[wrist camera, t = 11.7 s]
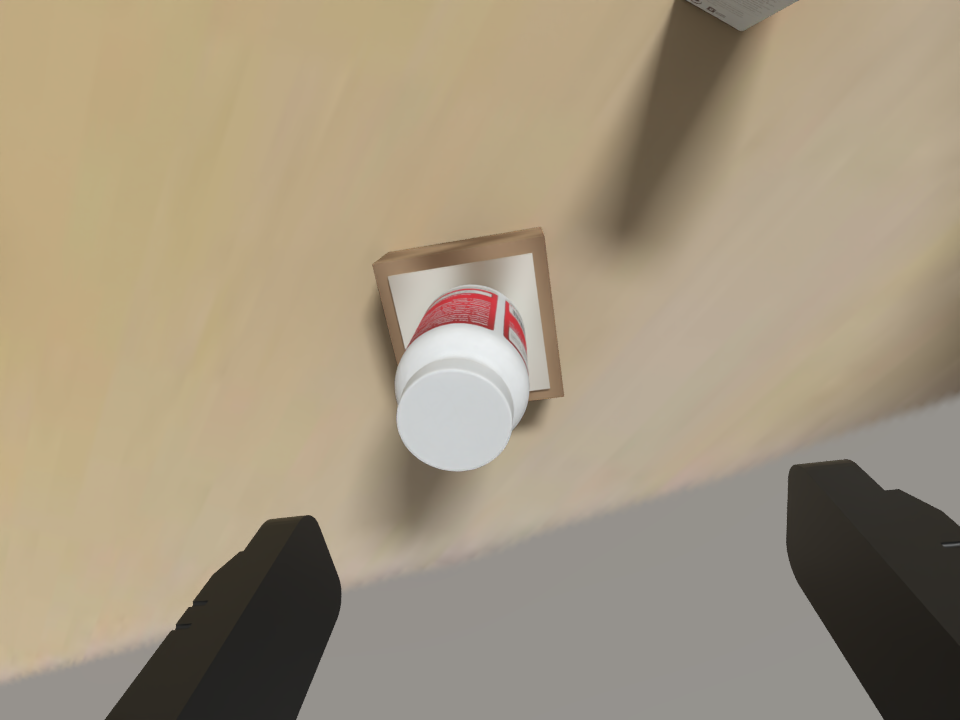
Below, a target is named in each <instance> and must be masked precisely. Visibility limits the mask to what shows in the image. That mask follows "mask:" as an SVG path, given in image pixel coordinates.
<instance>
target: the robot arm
mask: <svg viewBox="0 0 960 720" xmlns="http://www.w3.org/2000/svg"><path fill="white" fill-rule="evenodd" d="M786 536H787V537H786V543H787V544H786V545H787V552H788V557H789V561H790V565H791V568H792V570H793V573H794V575H795V578H796V580H797V582H798V584H799V585H800V587H801V589H802V590H803V592H804V593H805V595H806V596H807V598H808V600H809V601H810V603H811V605H812V606H813V608H814V609H815V611H816V612H817V614H818V615H819V617H820V619H821V620H822V622H823V623H824V625H825V627H826V628H827V630H828V632H829V633H830V634H831V636H832V638H833V639H834V641H835V643H836V644H837V646H838V647H839V649H840V651H841V652H842V654H843V655H844V657H845V659H846V660H847V662H848V663H849V665H850V666H851V668H852V670H853V671H854V673H855V674H856V676H857V678H858V679H859V681H860V682H861V684H862V686H863V687H864V689H865V690H866V692H867V693H868V695H869V697H870V698H871V700H872V701H873V703H874V704H875V706H876V708H877V709H878V711H879V713H880V714H881V716H882V717H883V719H884V720H960V526H958V525H957V524H956V523H955V522H954V521H953V520H952V519H950V518H949V517H948V516H947V515H946V514H945V513H943V512H942V511H941V510H939V509H937V508H934V507H933V506H931V505H929V504H927V503H925V502H923V501H921V500H919V499H917V498H915V497H913V496H911V495H909V494H907V493H905V492H903V491H901V490H899V489H896V490H886V491H885V490H883V489H882V488H881V487H880V486H879V485H878V484H877V483H876V482H875V481H874V480H873V479H872V478H871V477H870V476H869V475H868V474H867V473H866V472H865V471H863V470H862V469H861V468H860V467H859V466H858V465H857V464H856V463H855V462H853V461H851V460H848V459H844V460H835V461H826V462H816V463H807V464H797V465H793V466H792V467H791V469H790V471H789V476H788V504H787V535H786ZM340 606H341V584H340V580H339V577H338V574H337V571H336V569H335V566H334V564H333V561H332V558H331V556H330V553H329V550H328V548H327V545H326V543H325V540H324V537H323V535H322V532H321V529H320V527H319V524H318V522H317V521H316V519H315V518H314V517H312V516H310V515H306V516H296V517H287V518H278V519H270V520H267V521H266V522H265V523H264V524H263V525H262V526H261V527H260V529H259V530H258V532H257V533H256V534H255V536H254V537H253V539H252V540H251V541H250V543H249V544H248V546H247V547H246V548H245V550H244V551H241V552H239V553H238V554H237V555H235V556H234V557H233V558H232V559H231V560H230V561H228V562H227V563H226V564H225V565H224V566H223V567H221V568H220V569H219V570H218V571H217V572H216V573H214V574H213V575H212V577H211V578H210V579H209V581H208V582H207V583H206V585H205V586H204V587H203V589H202V590H201V591H200V593H199V594H198V595H197V597H196V598H195V599H194V601H193V606H192V607H188V609H187V610H186V611H185V613H184V614H183V615H182V617H181V618H180V619H179V621H178V622H177V624H176V629H175V630H172V631H171V632H170V633H169V634H168V636H167V637H166V638H165V640H164V641H163V642H162V644H161V645H160V646H159V648H158V649H157V650H156V652H155V653H154V654H153V656H152V657H151V658H150V660H149V661H148V662H147V664H146V665H145V667H144V668H143V669H142V670H141V672H140V673H139V674H138V676H137V677H136V679H135V680H134V681H133V683H132V684H131V685H130V687H129V688H128V689H127V691H126V692H125V693H124V695H123V696H122V697H121V699H120V700H119V701H118V703H117V704H116V705H115V707H114V708H113V709H112V711H111V712H110V713H109V715H108V716H107V717H106V719H105V720H296V718H297V716H298V713H299V711H300V708H301V706H302V704H303V701H304V699H305V696H306V694H307V691H308V689H309V686H310V684H311V681H312V679H313V677H314V674H315V672H316V669H317V667H318V664H319V662H320V660H321V657H322V655H323V652H324V650H325V647H326V645H327V642H328V640H329V637H330V635H331V633H332V630H333V628H334V625H335V622H336V620H337V618H338V615H339V611H340Z"/></svg>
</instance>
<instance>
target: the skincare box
mask: <svg viewBox="0 0 960 720" xmlns="http://www.w3.org/2000/svg"><path fill="white" fill-rule="evenodd" d="M686 1H688V2H690V3H692V4H694V5H695V6H697V7H699V8H701V9H703V10H704V11H706V12H708V13H710V14H711V15H713V16H715V17H717V18H718V19H720V20H722V21H724V22H725V23H727V24H729V25H731V26H732V27H734V28H736V29H737V30H739V31H744V30H746V29H748V28H749V27H751V26H753V25H755V24H757V23H759V22H760V21H762V20H764V19H766V18H768V17H769V16H771V15H773V14H775V13H776V12H778V11H780V10H782V9H784V8H786V7H787V6H789V5H791V4H793V3H795V2H797V1H798V0H686Z"/></svg>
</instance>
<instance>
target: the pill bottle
mask: <svg viewBox="0 0 960 720" xmlns="http://www.w3.org/2000/svg"><path fill="white" fill-rule="evenodd" d="M529 390H530V383H529V371H528V360H527V347H526V335H525V328H524V323H523V320H522V317H521V315H520V313H519V311H518V310H517V308H516V307H515V305H514V304H513V303H512V302H511V301H510V300H509V299H508V298H507V297H506V296H504V295H503V294H502V293H500V292H498V291H497V290H494V289H492V288H489V287H486V286H481V285H462V286H458V287H455V288H452V289H450V290H448V291H446V292H444V293H442V294H441V295H440V296H438V297H437V298H436V299H435V300H434V301H433V302H432V304H431V305H430V306H429V308H428V309H427V311H426V312H425V314H424V316H423V318H422V320H421V322H420V324H419V326H418V327H417V329H416V331H415V333H414V335H413V337H412V338H411V341H410V343H409V344H408V346H407V348H406V350H405V352H404V354H403V356H402V358H401V360H400V362H399V365H398V368H397V371H396V376H395V395H396V400H397V403H398V408H397V415H396V420H397V428H398V432H399V434H400V437H401V439H402V441H403V443H404V444H405V446H406V447H407V448H408V450H409V451H410V452H411V453H412V454H413V455H414V456H415V457H417V458H418V459H419V460H420V461H422V462H424V463H426V464H428V465H430V466H432V467H435V468H438V469H442V470H447V471H468V470H472V469H476V468H479V467H482V466H484V465H486V464H487V463H489V462H491V461H492V460H494V459H495V458H496V457H497V456H498V455H499V454H500V453H501V452H502V451H503V450H504V448H505V447H506V445H507V443H508V441H509V439H510V436H511V432H512V430H513V429H514V428H515V427H516V426H517V424H518V423H519V421H520V420H521V418H522V416H523V415H524V412H525V410H526V407H527V404H528V400H529Z"/></svg>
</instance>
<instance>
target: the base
mask: <svg viewBox="0 0 960 720" xmlns="http://www.w3.org/2000/svg"><path fill="white" fill-rule="evenodd" d="M372 266H373V270H374V274H375V278H376V282H377V286H378V290H379V294H380V298H381V302H382V306H383V310H384V314H385V318H386V322H387V326H388V330H389V334H390V338H391V342H392V346H393V350H394V354H395V358H396V362H397V366H398V365H399V362H400V360H401V358H402V356H403V354H404V352H405V350H406V348H407V346H408V344H409V343H410V341H411V338H412V337H413V335H414V333H415V331H416V329H417V327H418V326H419V324H420V322H421V320H422V318H423V316H424V314H425V312H426V311H427V309H428V308H429V306H430V305H431V304H432V302H433V301H434V300H435V299H436V298H437V297H438V296H440V295H441V294H442V293H444V292H446V291H448V290H450V289H452V288H455V287H458V286H462V285H481V286H486V287H489V288H492V289H494V290H497V291H498V292H500V293H502V294H503V295H504V296H506V297H507V298H508V299H509V300H510V301H511V302H512V303H513V304H514V305H515V307H516V308H517V310H518V311H519V313H520V315H521V317H522V320H523V323H524V328H525V335H526V347H527V360H528V371H529V383H530V390H529V400H528V401H533V400H541V399H549V398H557V397H564V391H563V383H562V375H561V367H560V359H559V350H558V342H557V334H556V326H555V318H554V310H553V302H552V294H551V286H550V278H549V270H548V262H547V253H546V245H545V237H544V234H543V231H542V229H541V227H537V228H531V229H526V230H520V231H514V232H508V233H502V234H496V235H490V236H484V237H478V238H472V239H466V240H460V241H454V242H448V243H442V244H436V245H430V246H424V247H418V248H412V249H406V250H400V251H394V252H388V253H387V254H385V255H384V256H383V257H382V258H380V259H379V260H378V261H376V262H375V263H374V264H372Z"/></svg>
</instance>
